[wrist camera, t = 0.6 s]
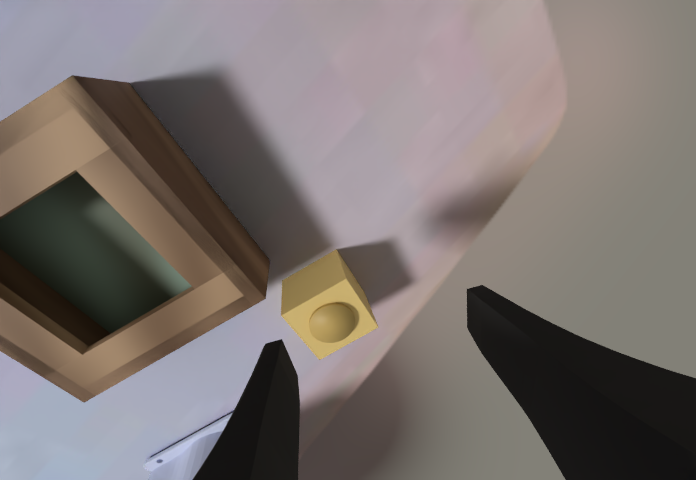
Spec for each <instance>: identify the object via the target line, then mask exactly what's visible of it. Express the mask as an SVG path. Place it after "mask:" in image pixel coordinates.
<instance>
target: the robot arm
mask: <svg viewBox="0 0 696 480" xmlns="http://www.w3.org/2000/svg"><path fill="white" fill-rule="evenodd" d="M467 328H468V330H469V332H470V333H471V335H472V337H473V339H474V341H475V342H476V344H477V346H478V348H479V349H480V351H481V353H482V354H483V356H484V357H485V358H486V360H487V361H488V362H489V364H490V365H491V367H492V368H493V369H494V371H495V372H496V373H497V375H498V376H499V377H500V379H501V380H502V381H503V383H504V384H505V386H506V387H507V388H508V390H509V391H510V392H511V393H512V395H513V396H514V398H515V399H516V401H517V402H518V403H519V405H520V406H521V407H522V409H523V410H524V412H525V413H526V415H527V416H528V418H529V419H530V421H531V422H532V424H533V426H534V427H535V429H536V430H537V432H538V433H539V435H540V437H541V439H542V440H543V442H544V444H545V445H546V447H547V449H548V450H549V452H550V454H551V455H552V457H553V459H554V460H555V462H556V464H557V466H558V467H559V469H560V470H561V472H562V474H563V476H564V477H565V479H566V480H696V378H693V377H689V376H686V375H683V374H679V373H676V372H673V371H670V370H666V369H664V368H660V367H658V366H655V365H652V364H649V363H646V362H644V361H640V360H638V359H635V358H632V357H629V356H627V355H624V354H621V353H619V352H616V351H613V350H611V349H609V348H606V347H604V346H601V345H599V344H596V343H594V342H592V341H589V340H586V339H584V338H582V337H580V336H578V335H575V334H573V333H571V332H569V331H567V330H565V329H563V328H561V327H559V326H557V325H555V324H552V323H551V322H549V321H546V320H544V319H543V318H541V317H539V316H537V315H535V314H533V313H531V312H529V311H527V310H526V309H523V308H522V307H520V306H518V305H517V304H515V303H513V302H511V301H510V300H508V299H506V298H504V297H502V296H501V295H499V294H497V293H495V292H494V291H492V290H490V289H488V288H487V287H485V286H483V285H480V286H477V287H473V288H470V289H467ZM299 417H300V399H299V387H298V376H297V373H296V371H295V368H294V366H293V364H292V361H291V359H290V357H289V355H288V352H287V350H286V348H285V345H284V343H283V341H282V339H281V340H278V341H274V342H270V343H267V344H265V346H264V348H263V350H262V352H261V355H260V357H259V359H258V362H257V364H256V366H255V368H254V371H253V373H252V375H251V377H250V379H249V381H248V384H247V386H246V388H245V390H244V392H243V394H242V396H241V398H240V400H239V402H238V404H237V406H236V408H235V410H234V411H233V413H231V414H229V415H227V416H225V417H223V418H222V419H220V420H218V421H216V422H214V423H213V424H211V425H209V426H207V427H205V428H204V429H202V430H200V431H198V432H196V433H195V434H193V435H191V436H189V437H187V438H186V439H184V440H182V441H180V442H178V443H176V444H175V445H173V446H171V447H169V448H167V449H166V450H164V451H162V452H160V453H158V454H157V455H155V456H153V457H151V458H149V459H148V460H146V461H145V464H144V468H145V469H146V470H148V471H150V472H151V473H150V475H149V478H148V480H298V453H299Z"/></svg>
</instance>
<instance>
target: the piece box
mask: <svg viewBox="0 0 696 480" xmlns="http://www.w3.org/2000/svg"><path fill="white" fill-rule="evenodd" d="M269 263H270V260H269V259H268V258H267V256H266V255H265V254H264V253H263V251H262V250H261V249H260V248H259V246H258V245H257V244H256V242H255V241H254V240H253V239H252V237H251V236H250V235H249V234H248V232H247V231H246V230H245V229H244V227H243V226H242V225H241V224H240V222H239V221H238V220H237V218H236V217H235V216H234V215H233V213H232V212H231V211H230V210H229V208H228V207H227V206H226V205H225V203H224V202H223V201H222V200H221V198H220V197H219V196H218V195H217V193H216V192H215V191H214V189H213V188H212V187H211V186H210V184H209V183H208V182H207V181H206V179H205V178H204V177H203V176H202V174H201V173H200V172H199V171H198V169H197V168H196V167H195V165H194V164H193V163H192V162H191V160H190V159H189V158H188V157H187V155H186V154H185V153H184V152H183V150H182V149H181V148H180V147H179V145H178V144H177V143H176V141H175V140H174V139H173V138H172V136H171V135H170V134H169V133H168V131H167V130H166V129H165V128H164V126H163V125H162V124H161V123H160V121H159V120H158V119H157V117H156V116H155V115H154V114H153V112H152V111H151V110H150V109H149V107H148V106H147V105H146V104H145V102H144V101H143V100H142V99H141V97H140V96H139V95H138V93H137V92H136V91H135V90H134V88H133V87H132V86H131V85H130V83H127V82H119V81H111V80H104V79H96V78H88V77H80V76H71V77H69V78H67V79H66V80H64V81H63V82H61V83H60V84H58V85H57V86H55V87H53V88H52V89H50V90H49V91H47V92H46V93H44V94H43V95H41V96H39V97H38V98H36V99H35V100H33V101H32V102H30V103H29V104H27V105H25V106H24V107H22V108H21V109H19V110H18V111H16V112H15V113H13V114H12V115H10V116H8V117H7V118H5V119H4V120H2V121H1V122H0V351H1V352H3V353H4V354H6V355H8V356H9V357H11V358H12V359H14V360H16V361H17V362H19V363H21V364H22V365H24V366H25V367H27V368H29V369H30V370H32V371H34V372H35V373H37V374H38V375H40V376H42V377H43V378H45V379H47V380H48V381H50V382H51V383H53V384H55V385H56V386H58V387H60V388H61V389H63V390H65V391H66V392H68V393H69V394H71V395H73V396H74V397H76V398H78V399H79V400H81V401H82V402H86V401H88V400H89V399H91V398H93V397H95V396H96V395H98V394H100V393H102V392H103V391H105V390H107V389H109V388H110V387H112V386H114V385H115V384H117V383H119V382H121V381H122V380H124V379H126V378H128V377H129V376H131V375H133V374H135V373H136V372H138V371H140V370H142V369H143V368H145V367H147V366H149V365H150V364H152V363H154V362H156V361H157V360H159V359H161V358H163V357H164V356H166V355H168V354H170V353H171V352H173V351H175V350H177V349H178V348H180V347H182V346H184V345H185V344H187V343H189V342H191V341H192V340H194V339H196V338H198V337H199V336H201V335H203V334H205V333H206V332H208V331H210V330H212V329H213V328H215V327H217V326H219V325H220V324H222V323H224V322H226V321H227V320H229V319H231V318H232V317H234V316H236V315H238V314H239V313H241V312H243V311H245V310H246V309H248V308H250V307H252V306H253V305H255V304H257V303H259V302H260V301H262V300H264V299H266V290H267V281H268V272H269Z"/></svg>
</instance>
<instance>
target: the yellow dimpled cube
mask: <svg viewBox="0 0 696 480" xmlns="http://www.w3.org/2000/svg"><path fill="white" fill-rule="evenodd" d="M281 316H282V317H283V318H284V319H285V321H286V322H287V323H288V324H289V325H290V326H291V328H292V329H293V330H294V331H295V332H296V333H297V334H298V336H299V337H300V338H301V339H302V340H303V341H304V343H305V344H306V345H307V346H308V347H309V348H310V350H311V351H312V352H313V353H314V354H315V355H316V356H317V358H318V359H319V360H320V359H322V358H324V357H326V356H327V355H329V354H331V353H333V352H335V351H336V350H338V349H340V348H342V347H344V346H346V345H347V344H349V343H351V342H353V341H355V340H356V339H358V338H360V337H362V336H364V335H365V334H367V333H369V332H371V331H373V330H374V329H376V328H378V325H377V322H376V320H375V318H374V315H373V313H372V310H371V308H370V305H369V303H368V300H367V298H366V295H365V293H364V291H363V290H362V288H361V287H360V285H359V284H358V282H357V280H356V279H355V277H354V276H353V274H352V273H351V271H350V270H349V268H348V266H347V265H346V263H345V262H344V260H343V259H342V257H341V256H340V254H339V253H338V251H337V249H336V250H334V251H333V252H331V253H329V254H328V255H326V256H324V257H322V258H321V259H319V260H317V261H315V262H314V263H312V264H310V265H308V266H307V267H305V268H303V269H301V270H300V271H298V272H296V273H294V274H293V275H291V276H289V277H288V278H286V279H284V280H282V305H281Z"/></svg>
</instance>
